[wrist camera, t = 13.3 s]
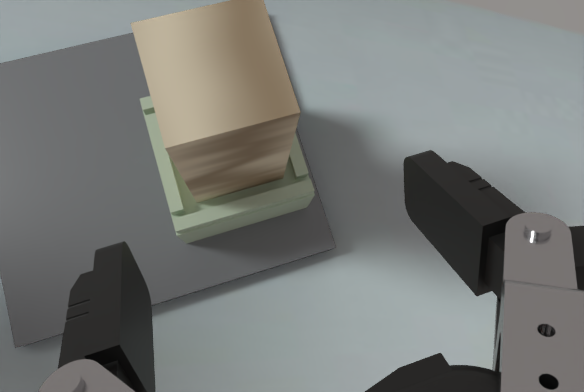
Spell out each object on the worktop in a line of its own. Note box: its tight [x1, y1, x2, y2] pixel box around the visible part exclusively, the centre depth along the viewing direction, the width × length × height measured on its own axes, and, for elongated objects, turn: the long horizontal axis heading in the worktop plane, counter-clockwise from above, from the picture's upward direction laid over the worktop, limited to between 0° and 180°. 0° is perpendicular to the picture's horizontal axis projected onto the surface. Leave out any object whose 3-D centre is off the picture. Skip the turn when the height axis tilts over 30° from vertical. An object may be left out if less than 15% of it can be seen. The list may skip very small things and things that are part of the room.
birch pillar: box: [131, 0, 300, 203], centre depth 22 cm, size 5×5×10 cm
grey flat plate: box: [0, 33, 336, 348], centre depth 31 cm, size 20×18×1 cm
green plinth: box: [140, 96, 315, 244], centre depth 29 cm, size 8×8×5 cm
